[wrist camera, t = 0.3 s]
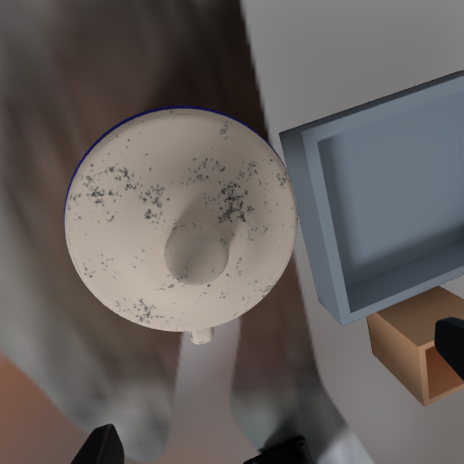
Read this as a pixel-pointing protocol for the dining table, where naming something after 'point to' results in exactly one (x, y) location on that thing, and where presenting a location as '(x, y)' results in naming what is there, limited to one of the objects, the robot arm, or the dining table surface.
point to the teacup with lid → (180, 219)
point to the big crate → (382, 197)
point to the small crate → (417, 343)
